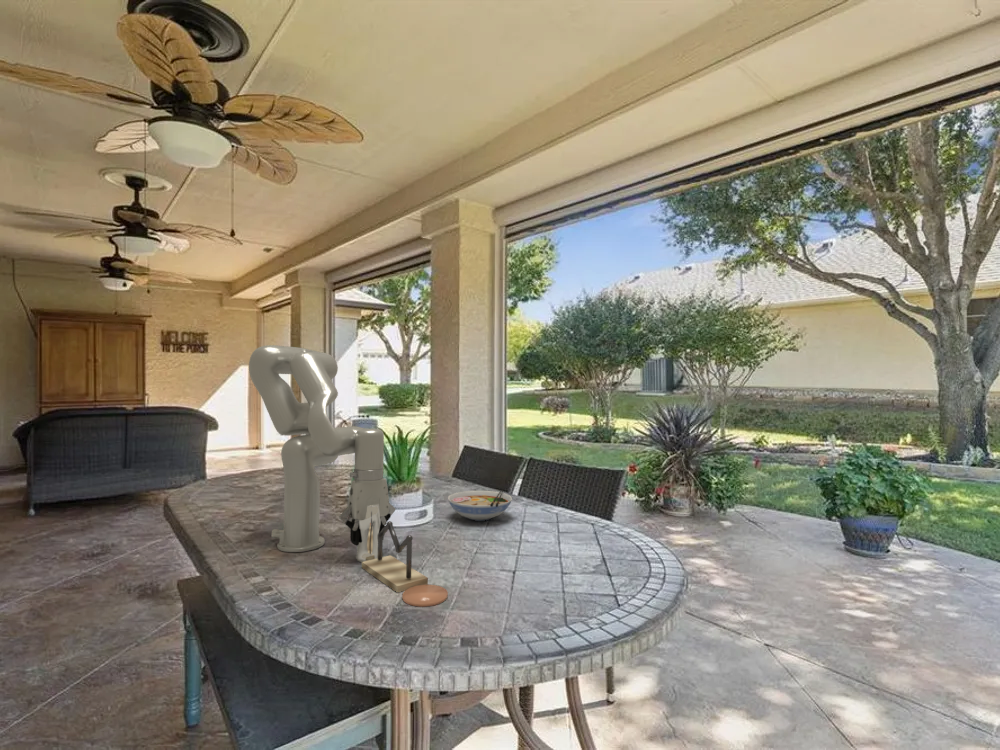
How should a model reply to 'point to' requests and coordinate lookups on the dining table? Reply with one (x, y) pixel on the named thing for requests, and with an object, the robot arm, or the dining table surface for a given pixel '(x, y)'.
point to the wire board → (394, 573)
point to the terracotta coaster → (425, 595)
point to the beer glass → (369, 534)
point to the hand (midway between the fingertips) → (367, 540)
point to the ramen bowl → (479, 504)
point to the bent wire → (396, 546)
